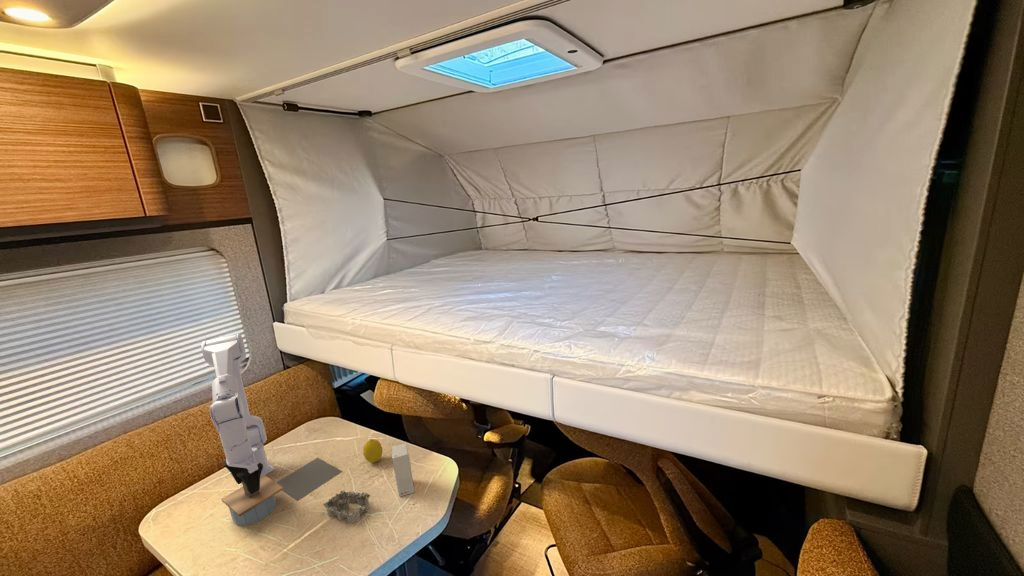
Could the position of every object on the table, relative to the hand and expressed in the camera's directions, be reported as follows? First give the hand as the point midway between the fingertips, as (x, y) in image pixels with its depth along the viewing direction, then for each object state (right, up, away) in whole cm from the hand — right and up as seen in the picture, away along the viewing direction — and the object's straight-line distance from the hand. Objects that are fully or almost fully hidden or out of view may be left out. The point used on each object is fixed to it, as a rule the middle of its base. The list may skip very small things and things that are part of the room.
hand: (248, 486), depth 112 cm
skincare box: (+41, -3, +6) cm, 41 cm away
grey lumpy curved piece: (+27, -6, -1) cm, 28 cm away
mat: (+9, -4, +14) cm, 17 cm away
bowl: (+1, -8, +2) cm, 8 cm away
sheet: (+1, -3, +1) cm, 3 cm away
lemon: (+28, -1, +18) cm, 33 cm away
